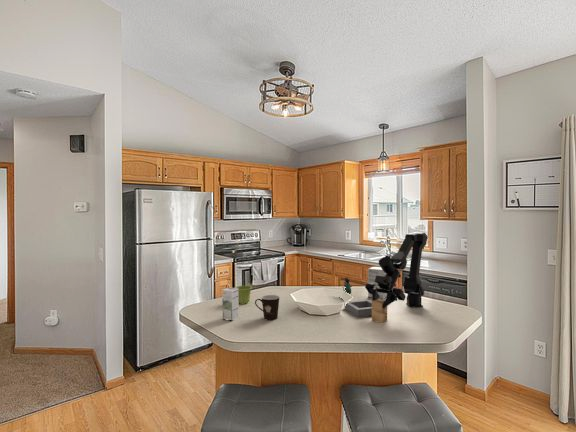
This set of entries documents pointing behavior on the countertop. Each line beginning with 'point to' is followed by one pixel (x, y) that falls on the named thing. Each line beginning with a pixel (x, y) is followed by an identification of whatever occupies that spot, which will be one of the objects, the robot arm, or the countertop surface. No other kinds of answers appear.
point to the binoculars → (347, 286)
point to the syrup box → (230, 303)
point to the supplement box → (371, 279)
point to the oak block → (379, 311)
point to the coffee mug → (269, 306)
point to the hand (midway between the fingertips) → (377, 306)
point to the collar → (360, 308)
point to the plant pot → (244, 294)
